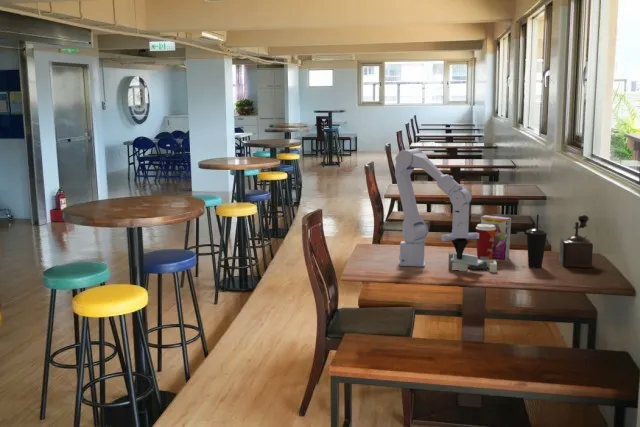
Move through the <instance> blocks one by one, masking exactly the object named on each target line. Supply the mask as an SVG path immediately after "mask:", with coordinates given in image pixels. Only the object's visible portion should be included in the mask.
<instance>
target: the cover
mask: <svg viewBox="0 0 640 427" xmlns="http://www.w3.org/2000/svg"><path fill="white" fill-rule="evenodd" d="M450 261H453V262H459V263H465V264H470V265H476V266H478V265H480V264H482V263H483V262H484V261H481V260H478V256H477V255H473V254H467V253H466V254H465V253H463V254H462V259H461V260H459V259H457V253H456V252H454V253H453V258H452V259H450Z"/></svg>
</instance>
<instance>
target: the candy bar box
mask: <svg viewBox="0 0 640 427" xmlns="http://www.w3.org/2000/svg"><path fill="white" fill-rule="evenodd" d="M479 224H492V225H495V228H496V230H495V236H494V246H493V255H492V259H494V258H495V259H494V260H501V261H502V260H503V261H507V260H508V259H509V258H510V248H511V247H510V246H511V244H510V243H511V230H512V229H511V228H512V227H511V226H512V218H511V217H505V216H496V215H486V214H484V215H482V216H480V221H479Z"/></svg>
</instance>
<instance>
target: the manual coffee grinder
mask: <svg viewBox="0 0 640 427" xmlns="http://www.w3.org/2000/svg"><path fill="white" fill-rule="evenodd" d="M577 220H578V221H576V222H575V224H574V226H572V227H573V228H572V229H574V230H575V233H574V235H571V236H569V237H567V238H566V237H560V239H559V259H558V260H559V263H560V265H561V266H562V267H563V268H573V269H574V268H575V269H576V268H577V269H579V268H580V269H593V264H592V263H593V251H594V244H593V243H592V242H591V241H590V239H589V238H587V235H585V236H582V235H580V234H579V229H584V228H587V227H588V225H587V223H588V222H589V220H590V218H589V216H588V215H586V214H580V215H578V217H577Z"/></svg>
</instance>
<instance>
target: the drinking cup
mask: <svg viewBox="0 0 640 427" xmlns="http://www.w3.org/2000/svg"><path fill="white" fill-rule="evenodd" d="M539 217H540V216H539V214H536V226H535V227H533V228H530V229H528V230H527V229H526V232H525V233H526V240H527V242H526V244H527V261H528V262H527V263H528V264H527V265H528V267H529V268H530V269H542V268H543V262H544V261H543V260H544V255H545V248H546V241H547V235H548V231H547V230H545V229H542V228H539Z"/></svg>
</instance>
